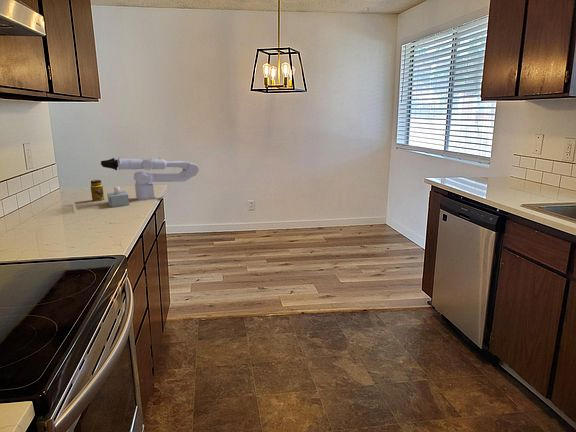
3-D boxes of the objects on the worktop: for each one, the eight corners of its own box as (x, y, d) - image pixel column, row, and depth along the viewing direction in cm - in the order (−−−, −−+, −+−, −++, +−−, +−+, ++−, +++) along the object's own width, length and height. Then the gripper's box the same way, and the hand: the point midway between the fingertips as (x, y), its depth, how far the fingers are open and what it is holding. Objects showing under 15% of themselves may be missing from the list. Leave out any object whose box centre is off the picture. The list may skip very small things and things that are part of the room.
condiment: (103, 203, 237) (100, 181, 234) (87, 203, 236) (83, 182, 233) (106, 200, 244) (104, 179, 241) (91, 201, 243) (88, 179, 240)
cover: (126, 201, 234) (124, 184, 232) (129, 205, 226) (127, 187, 223) (108, 203, 230) (106, 186, 228) (110, 207, 222) (108, 189, 219)
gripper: (126, 155, 240) (99, 155, 234) (130, 157, 228) (102, 157, 221) (127, 168, 241) (100, 168, 235) (131, 171, 229) (103, 171, 223)
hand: (101, 164), depth 228 cm, fingers open, 7 cm apart
